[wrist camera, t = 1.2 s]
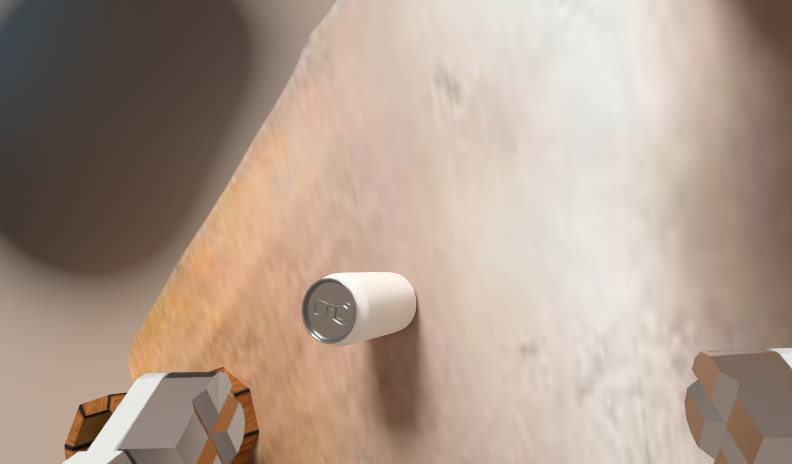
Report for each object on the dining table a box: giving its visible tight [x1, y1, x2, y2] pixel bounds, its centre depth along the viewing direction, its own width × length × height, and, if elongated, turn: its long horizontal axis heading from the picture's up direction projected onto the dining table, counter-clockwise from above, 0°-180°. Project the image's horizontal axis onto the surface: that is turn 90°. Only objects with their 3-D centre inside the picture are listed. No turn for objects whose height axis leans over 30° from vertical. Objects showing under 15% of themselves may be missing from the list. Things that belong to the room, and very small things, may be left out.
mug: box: [65, 367, 259, 464], centre depth 54 cm, size 20×14×15 cm
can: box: [302, 272, 416, 346], centre depth 47 cm, size 6×6×12 cm
